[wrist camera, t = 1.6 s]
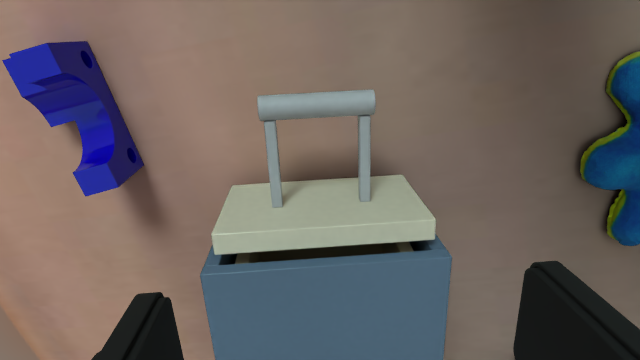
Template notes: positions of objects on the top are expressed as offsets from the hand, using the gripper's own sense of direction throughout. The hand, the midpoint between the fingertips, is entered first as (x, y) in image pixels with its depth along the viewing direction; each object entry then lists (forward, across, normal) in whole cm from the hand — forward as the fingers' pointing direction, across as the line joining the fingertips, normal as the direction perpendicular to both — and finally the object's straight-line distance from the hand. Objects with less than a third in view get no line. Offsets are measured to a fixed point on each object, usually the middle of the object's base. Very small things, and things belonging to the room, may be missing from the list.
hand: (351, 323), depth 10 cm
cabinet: (+17, 0, +11) cm, 20 cm away
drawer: (+16, 0, +5) cm, 17 cm away
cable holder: (+17, +14, -3) cm, 22 cm away
